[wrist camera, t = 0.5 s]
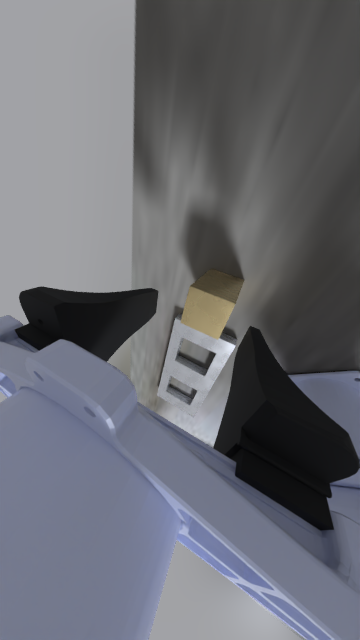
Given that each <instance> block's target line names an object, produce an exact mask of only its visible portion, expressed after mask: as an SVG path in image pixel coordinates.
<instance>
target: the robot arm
mask: <svg viewBox="0 0 360 640" xmlns="http://www.w3.org/2000/svg"><path fill="white" fill-rule="evenodd" d="M157 298H158V291H157V290H155V289H152V288H147V289H138V290H131V291H122V292H110V293H89V292H88V293H87V292H74V291H66V290H59V289H53V288H47V287H37V288H33V289H29V290H25V291H22V292H21V293H20V296H19V299H20V303H21V306H22V308H23V311H24V313H25V315H26V317H27V319H28V321H29V324H27V325H24V326H23V324H22V323H21V322H20V321H18V320H16V319H15V318H13V317H11V316H9V315H6V316H4V317H1V318H0V392H2V393H3V394H4V395H5V396H6V397H7V399H5V400H4V401H2V402H1V403H0V640H148V639H149V635H150V632H151V628H152V625H153V621H154V618H155V614H156V611H157V607H158V604H159V600H160V597H161V593H162V589H163V586H164V582H165V579H166V576H167V572H168V568H169V565H170V561H171V558H172V554H173V551H174V547H175V544H176V540H178V541H179V542H180V543H182V544H183V545H184V546H186V547H187V548H188V549H189V550H191V551H192V552H193V553H195V554H196V555H198V556H199V557H200V558H201V559H203V560H204V561H205V562H207V563H208V564H209V565H210V566H212V567H213V568H214V569H216V570H217V571H218V572H220V573H221V574H223V575H224V576H225V577H226V578H228V579H229V580H230V581H231V582H233V583H234V584H236V585H237V586H238V587H239V588H241V589H242V590H243V591H244V592H246V593H247V594H248V595H250V596H251V597H252V598H254V599H255V600H256V601H258V602H259V603H260V604H261V605H263V606H264V607H265V608H267V609H268V610H269V611H271V612H272V613H273V614H274V615H276V616H277V617H278V618H280V619H281V620H282V621H283V622H285V623H286V624H287V625H289V626H290V627H291V628H292V629H294V630H295V631H296V632H297V633H299V634H300V635H301V636H302V637H304V638H305V639H306V640H360V372H359V371H343V372H328V373H312V374H297V375H287V374H286V372H285V371H284V370H283V369H282V367H281V366H280V365H279V363H278V362H277V360H276V359H275V357H274V356H273V354H272V352H271V351H270V349H269V347H268V345H267V344H266V342H265V340H264V338H263V336H262V334H261V332H260V330H259V329H257V328H254V327H252V326H250V327H249V329H248V331H247V332H246V334H245V336H244V338H243V340H242V342H241V344H240V345H239V347H238V350H237V353H236V357H235V361H234V368H233V374H232V381H231V387H230V392H229V396H228V400H227V404H226V407H225V411H224V414H223V418H222V421H221V425H220V428H219V431H218V435H217V438H216V441H215V444H214V448H212V447H210V446H209V445H207V444H205V443H204V442H202V441H200V440H199V439H197V438H196V437H194V436H192V435H191V434H189V433H187V432H186V431H184V430H183V429H181V428H179V427H178V426H176V425H174V424H173V423H171V422H170V421H168V420H166V419H165V418H163V417H162V416H160V415H158V414H157V413H155V412H153V411H152V410H150V409H149V408H147V407H145V406H144V405H142V404H140V403H139V402H137V393H136V390H135V387H134V385H133V383H132V382H131V381H130V379H129V378H128V377H127V376H126V375H125V374H124V373H123V372H121V371H120V370H119V369H117V368H116V367H114V366H113V365H111V364H109V363H107V361H108V360H109V358H110V357H111V356H112V355H113V354H114V352H116V350H117V349H118V348H119V347H120V346H121V345H122V344H123V343H124V342H125V341H126V340H127V339H128V338H129V337H130V336H131V335H133V334H134V333H135V332H136V331H137V330H139V329H140V328H141V327H142V326H143V325H145V324H146V323H147V322H148V321H149V320H150V319H151V318H152V317H153V315H154V314H155V313H156V307H157ZM355 378H359V379H355Z"/></svg>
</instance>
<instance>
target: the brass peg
mask: <svg viewBox="0 0 360 640" xmlns="http://www.w3.org/2000/svg"><path fill="white" fill-rule="evenodd" d="M243 282H244V280H243V279H240V278H237V277H234V276H231V275H228V274H226V273H223V272H220V271H217V270H214V269H210V270H209V271H208V272H207V273H206V274H204V275H203V276H202V277H201V278H199V279H198V280H197V281H196V282H194V283H193V284H192V285H191V286H190V288H189V292H188V296H187V299H186V303H185V307H184V311H183V315H182V318H181V322H180V323H182V324H184V325H186V326H189V327H191V328H193V329H195V330H197V331H199V332H202V333H204V334H206V335H208V336H210V337H213V338H215V339H217V340H218V339H219V337H220V335H221V333H222V331H223V329H224V327H225V325H226V323H227V320H228V318H229V316H230V314H231V312H232V310H233V308H234V306H235V304H236V301H237V298H238V296H239V293H240V290H241V288H242V285H243Z"/></svg>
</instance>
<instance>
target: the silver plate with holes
mask: <svg viewBox="0 0 360 640" xmlns="http://www.w3.org/2000/svg"><path fill="white" fill-rule="evenodd" d="M181 318H182V315H181V314H179V315H178V316H177V317H176V318H175V321H174V325H173V330H172V334H171V338H170V342H169V347H168V351H167V355H166V359H165V364H164V368H163V372H162V376H161V381H160V385H159V389H158V393H157V396H159V397H161V398H162V399H164V400H166V401H167V402H169V403H171V404H172V405H174V406H176V407H177V408H179V409H181V410H182V411H184V412H186V413H187V414H189V415H191V416H192V417H194V416H195V414H196V413H197V411H198V409H199V408H200V406H201V404H202V402H203V401H204V399H205V397H206V396H207V394H208V392H209V390H210V389H211V387H212V385H213V384H214V382H215V380H216V378H217V377H218V375H219V373H220V372H221V370H222V368H223V367H224V365H225V363H226V361H227V360H228V358H229V356H230V355H231V353H232V351H233V349H234V348H235V346H236V342H237V339H235V338H233V337H231V336H229V335H226V334H224V333H221V335H220V337H219V339H218V340H217V339H215V338H213V337H210V336H208V335H206V334H204V333H202V332H199V331H197V330H195V329H193V328H191V327H189V326H186V325H184V324H182V323H180V322H181ZM184 338H185V339H187V340H189V341H191V342H193V343H195V344H197V345H200V346H202V347H204V348H206V349H208V350H210V351H212V352H214V353H216V354H215V356H214V358H213V360H212V362H211V364H210V366H209V368H208V370H207V369H205V368H203V367H201V366H199V365H197V364H195V363H193V362H191V361H189V360H187V359H185V358H183V357H181V356H179V352H180V349H181V345H182V342H183V339H184ZM172 377H174V378H175V379H177V380H179V381H181V382H183V383H184V384H186V385H188V386H190V387H192V388H193V389H195V390H197V392H196V394H195V396H194V398H193V399H191V398H190V397H188V396H186V395H184V394H183V393H181V392H179V391H177V390H176V389H174V388H172V387H170V386H169V385H170V382H171V378H172Z"/></svg>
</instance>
